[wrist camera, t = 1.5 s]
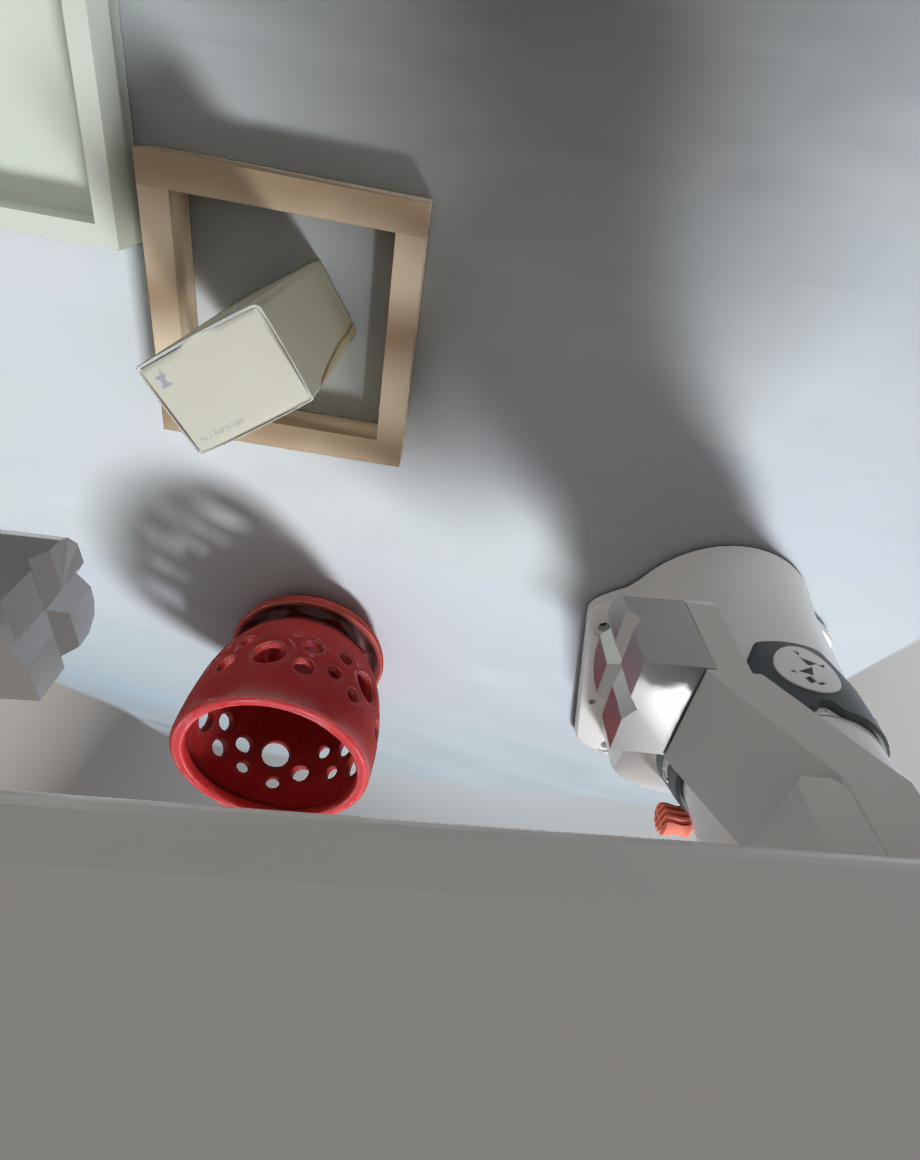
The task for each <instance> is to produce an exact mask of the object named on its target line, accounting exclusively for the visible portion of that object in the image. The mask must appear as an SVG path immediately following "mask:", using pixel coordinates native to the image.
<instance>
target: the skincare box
mask: <svg viewBox="0 0 920 1160" xmlns="http://www.w3.org/2000/svg"><path fill="white" fill-rule="evenodd" d="M355 334H356V329H355V327H354V325H353V323H352V321H351V319H350V317H349V315H348V313H347V311H346V309H345V307H344V305H343V303H342V301H341V299H340V297H339V296H338V294H337V292H336V290H335V288H334V286H333V284H332V282H331V280H330V278H329V276H328V274H327V273H326V271H325V269H324V267H323V265H322V263H321V262H320V261H314V262H312V263H310V264H308V265H306V266H303V267H301V268H299V269H297V270H295V271H294V272H292V273H290V274H288V275H286V276H284V277H282V278H280V279H278V280H276V281H274V282H272V283H271V284H269V285H267V286H265V287H263V288H261V289H259V290H258V291H256V292H254V293H252V294H250V295H248V296H247V297H245V298H243V299H241V300H240V301H238V302H236V303H234V304H233V305H231V306H229V307H228V308H227V309H225V310H224V311H222V312H220V313H219V314H217V315H216V316H214V317H213V318H211V319H210V320H208V321H206V322H205V323H203V324H202V325H200V326H199V327H197V328H196V329H194V330H193V331H191V332H190V333H188V334H186V335H185V336H183V337H182V338H180V339H179V340H177V341H176V342H174V343H172V344H171V345H169V346H168V347H166V348H165V349H163V350H162V351H160V352H159V353H157V354H156V355H154V356H152V357H151V358H149V359H148V360H147V361H145V362H144V363H142V364H141V365H139V366H137V368H136V370H137V372H138V373H139V374H140V376H141V377H142V378H143V380H144V381H145V383H146V384H147V386H148V387H149V388H150V390H151V391H152V392H153V394H154V395H155V396H156V398H157V399H158V400H159V402H160V403H161V405H162V406H163V407H164V409H165V410H166V411H167V413H168V414H169V415H170V417H171V418H172V419H173V421H174V422H175V424H176V425H177V426H178V428H179V429H180V430H181V431H182V433H183V434H184V435H185V437H186V438H187V439H188V440H189V442H190V443H191V444H192V445H193V447H194V448H195V449H196V451H197V452H198V453H201V454H202V453H205V452H208V451H210V450H213V449H215V448H217V447H220V446H222V445H225V444H227V443H229V442H231V441H233V440H235V439H238V438H240V437H242V436H244V435H246V434H248V433H250V432H252V431H254V430H256V429H258V428H260V427H262V426H265V425H267V424H269V423H271V422H273V421H275V420H276V419H279V418H281V417H283V416H284V415H286V414H288V413H290V412H292V411H294V410H296V409H298V408H300V407H302V406H303V405H305V404H307V403H309V402H311V401H312V400H313V399H314V397H315V396H316V394H317V393H318V391H319V389H320V388H321V386H322V385H323V383H324V382H325V380H326V379H327V377H328V376H329V374H330V373H331V371H332V370H333V368H334V366H335V365H336V363H337V362H338V360H339V359H340V357H341V356H342V354H343V353H344V351H345V349H346V348H347V346H348V345H349V343H350V342H351V340H352V339H353V337H354V335H355Z"/></svg>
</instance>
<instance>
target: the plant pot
mask: <svg viewBox="0 0 920 1160" xmlns="http://www.w3.org/2000/svg"><path fill="white" fill-rule="evenodd" d="M382 671H383V654H382V650H381V647H380V644H379V641H378V639H377V637H376V636H375V634H374V632H373V631H372V629H371V628H370V627H369V626H368V625H367V624H366V623H365V622H364V621H363V620H362V619H361V618H360V617H358V616H357V615H356V614H355V613H353V612H352V611H350V610H348V609H347V608H345V607H343V606H341V605H339V604H337V603H334V602H332V601H329V600H326V599H323V598H318V597H313V596H303V595H291V596H282V597H278V598H274V599H271V600H268V601H265V602H263V603H261V604H259V605H258V606H256V607H255V608H253V609H252V610H251V611H249V612H248V613H247V614H246V615H245V616H244V617H243V618H242V620H241V621H240V622H239V624H238V626H237V627H236V630H235V633H234V637H233V641H231V642H230V643H229V644H228V645H227V646H226V647H225V648H224V649H223V650H222V651H221V652H220V653H219V654H218V655H217V656H216V657H215V658H214V659H213V660H212V662H211V663H210V664H209V666H208V667H207V668H206V670H205V671H204V673H203V674H202V676H201V677H200V679H199V680H198V681H197V683H196V684H195V686H194V688H193V689H192V691H191V692H190V694H189V696H188V697H187V699H186V701H185V703H184V705H183V706H182V708H181V710H180V712H179V714H178V716H177V718H176V720H175V722H174V724H173V726H172V729H171V732H170V737H169V746H170V752H171V755H172V758H173V760H174V762H175V764H176V766H177V768H178V769H179V771H180V772H181V773H182V775H183V776H184V777H185V778H186V779H187V780H188V781H189V782H190V783H191V784H192V785H193V786H194V787H195V788H196V789H198V790H199V791H201V792H202V793H203V794H205V795H207V796H208V797H210V798H212V799H213V800H215V801H217V802H219V803H220V804H222V805H224V806H227V807H239V808H253V809H266V810H280V811H293V812H306V813H320V814H333V815H334V814H337V813H339V812H341V811H343V810H345V809H347V808H349V807H350V806H351V805H353V804H354V803H355V802H356V801H357V800H358V799H359V798H360V797H361V796H362V794H363V793H364V792H365V789H366V787H367V785H368V782H369V779H370V775H371V771H372V767H373V764H374V759H375V754H376V749H377V742H378V734H379V697H378V690H377V684H378V682H379V680H380V678H381V675H382ZM206 713H208V718H207V721H206V723H205V725H204V726H203V727H202V728H201V729H200V728H199V718H200V717H202V716H203V715H205V714H206ZM223 713H225V714H226V715H227V716H228V718H229V726H228V728H227V729H226V730H225V731H224V730H223V729H221V727H220V726H219V719H220V716H221V715H222V714H223ZM239 737H243V738H245V739H247V741H248V742H249V744H250V748H249V751H248V752H247V753H244V752H241V751H240V750H238V749H237V747H236V740H237V739H238V738H239ZM216 739H218V740H220V741H221V743H222V745H223V754H222V755H221V756H217V755H215V754H214V752H213V750H212V744H213V742H214V741H215V740H216ZM270 743H278V744H281V745H283V746H284V747H285V748H286V749H287V750H288V752H289V759H288V762H287V763H286V764H285V765H283V766H281V767H272V766H268V765H267V764H265V763H264V761H263V759H262V756H261V754H262V750H263V748H264V747H265V746H266V745H268V744H270ZM344 746H346V748H347V749H348V750H349V753H348V754H347V755H345V756H343V757H342V756H341V751H342V749H343V747H344ZM324 748H329V749H330V752H329V754H328V756H327V757H325V758H320V757H319V754H320V752H321V751H322V750H323V749H324ZM239 762H241V763H244V764H245V765H246V766H247V768H248V771H247V772H246V773H242V772H240V771H238V769H237V768H236V765H237V763H239ZM354 762H355V765H356V772H355V774H353V775H352V776H350V770H351V767H352V765H353V763H354ZM302 769H305V770H308V771H309V774H308V776H307V778H306V779H305V780H303V781H300V782H298V781H296V780H294V779H293V775H294V774H295V773H296V771H299V770H302ZM333 769H337V773H336V775H335V776H334V777H333V778H331V779H328V775H329V773H330V772H331V771H332V770H333ZM270 779H276V780H277V781H278V782H279V786H278V787H277V788H269V787H267V786H266V782H267V781H268V780H270Z"/></svg>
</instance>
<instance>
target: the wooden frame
mask: <svg viewBox="0 0 920 1160" xmlns="http://www.w3.org/2000/svg"><path fill="white" fill-rule="evenodd" d="M132 153H133V162H134V170H135V179H136V188H137V197H138V205H139V214H140V223H141V231H142V240H143V249H144V258H145V266H146V275H147V284H148V293H149V301H150V310H151V319H152V328H153V336H154V345H155V354H157V353H159V352H160V351H162V350H163V349H165V348H166V347H168V346H169V345H171V344H172V343H174V342H176V341H177V340H179V339H180V338H182V337H183V336H185V335H186V334H188V333H190V332H191V331H193V330H194V329H196V328H197V327H198V319H197V305H196V292H195V278H194V265H193V251H192V238H191V224H190V211H189V197H188V194H193V195H198V196H204V197H209V198H214V199H220V200H225V201H230V202H235V203H241V204H246V205H251V206H257V207H262V208H267V209H273V210H278V211H283V212H288V213H294V214H299V215H304V216H310V217H315V218H320V219H326V220H331V221H336V222H341V223H347V224H352V225H357V226H363V227H368V228H373V229H379V230H384V231H389V232H394V233H396V235H395V245H394V256H393V267H392V278H391V289H390V299H389V310H388V321H387V332H386V342H385V353H384V364H383V375H382V386H381V396H380V407H379V418H378V423H373V422H367V421H361V420H355V419H348V418H342V417H336V416H330V415H324V414H318V413H312V412H306V411H300V410H294V411H292V412H290V413H288V414H286V415H284V416H283V417H281V418H279V419H276V420H275V421H273V422H271V423H269V424H267V425H265V426H262V427H260V428H258V429H256V430H254V431H252V432H250V433H248V434H246V435H244V436H242V437H240V438H238V439H235V441H241V442H248V443H254V444H260V445H266V446H272V447H279V448H285V449H291V450H297V451H303V452H310V453H316V454H322V455H328V456H334V457H341V458H347V459H353V460H359V461H365V462H371V463H378V464H384V465H390V466H396V467H399V464H400V460H401V456H402V452H403V446H404V437H405V429H406V421H407V412H408V404H409V396H410V387H411V379H412V371H413V362H414V354H415V346H416V337H417V329H418V321H419V312H420V304H421V296H422V287H423V279H424V271H425V262H426V254H427V246H428V237H429V229H430V221H431V212H432V204H433V199H430V198H425V197H420V196H414V195H409V194H404V193H399V192H394V191H389V190H383V189H378V188H373V187H368V186H363V185H358V184H352V183H347V182H342V181H337V180H332V179H327V178H321V177H316V176H311V175H306V174H301V173H296V172H290V171H285V170H280V169H275V168H270V167H265V166H259V165H254V164H249V163H244V162H239V161H234V160H228V159H223V158H218V157H213V156H208V155H203V154H197V153H192V152H187V151H182V150H177V149H172V148H166V147H161V146H156V145H147V146H132ZM161 406H162V405H161ZM162 415H163V424H164V429H167V430H173V431H179V432H182V431H181V430H180V429H179V428H178V426H177V425H176V424H175V422H174V421H173V419H172V418H171V417H170V415H169V414H168V413H167V411H166V410H165V409H164V407H163V406H162Z"/></svg>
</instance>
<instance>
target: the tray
mask: <svg viewBox="0 0 920 1160" xmlns="http://www.w3.org/2000/svg"><path fill="white" fill-rule="evenodd" d="M132 146H134V139H133V130H132V121H131V112H130V104H129V95H128V86H127V77H126V68H125V59H124V50H123V41H122V32H121V24H120V15H119V6H118V0H0V229H3V230H8V231H14V232H19V233H25V234H30V235H36V236H41V237H47V238H52V239H58V240H63V241H69V242H74V243H80V244H86V245H91V246H97V247H102V248H108V249H113V250H122V249H125V248H128V247H131V246H134V245H137V244H140V243H143V240H142V231H141V223H140V214H139V205H138V197H137V188H136V179H135V170H134V162H133V153H132Z"/></svg>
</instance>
